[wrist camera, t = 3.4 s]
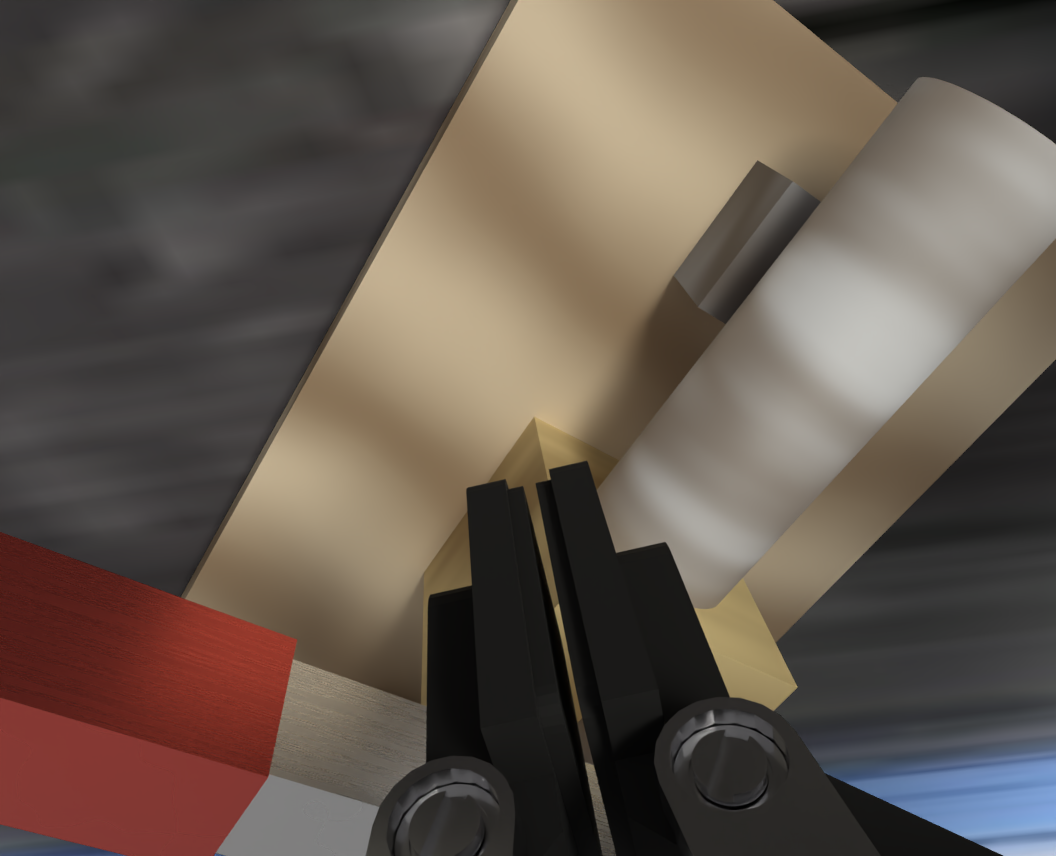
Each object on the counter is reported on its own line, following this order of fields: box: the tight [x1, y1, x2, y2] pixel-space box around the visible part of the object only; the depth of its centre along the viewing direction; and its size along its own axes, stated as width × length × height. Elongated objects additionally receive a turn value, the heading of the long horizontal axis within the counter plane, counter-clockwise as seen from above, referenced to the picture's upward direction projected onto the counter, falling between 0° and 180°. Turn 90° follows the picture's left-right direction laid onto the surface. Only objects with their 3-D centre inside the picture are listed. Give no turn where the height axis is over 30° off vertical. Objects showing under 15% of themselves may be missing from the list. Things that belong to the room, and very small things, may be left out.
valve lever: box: [0, 532, 616, 856], centre depth 12 cm, size 3×14×2 cm, turn 57°
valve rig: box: [181, 0, 1056, 765], centre depth 19 cm, size 26×16×10 cm, turn 147°
